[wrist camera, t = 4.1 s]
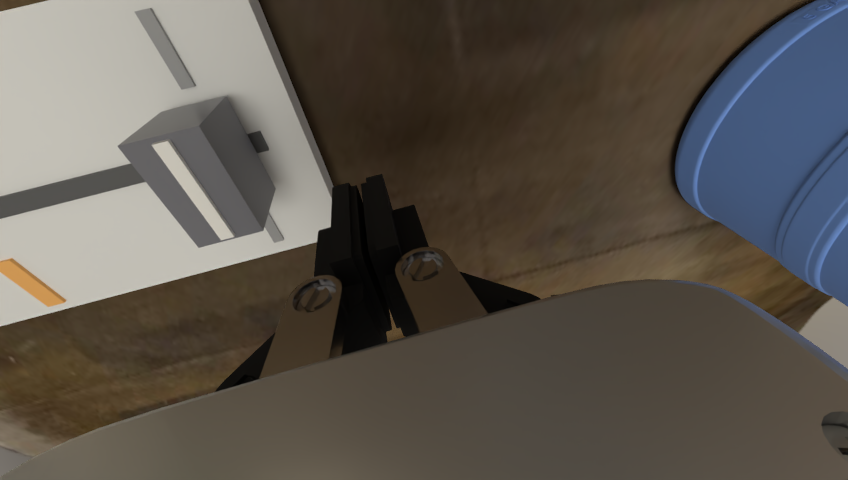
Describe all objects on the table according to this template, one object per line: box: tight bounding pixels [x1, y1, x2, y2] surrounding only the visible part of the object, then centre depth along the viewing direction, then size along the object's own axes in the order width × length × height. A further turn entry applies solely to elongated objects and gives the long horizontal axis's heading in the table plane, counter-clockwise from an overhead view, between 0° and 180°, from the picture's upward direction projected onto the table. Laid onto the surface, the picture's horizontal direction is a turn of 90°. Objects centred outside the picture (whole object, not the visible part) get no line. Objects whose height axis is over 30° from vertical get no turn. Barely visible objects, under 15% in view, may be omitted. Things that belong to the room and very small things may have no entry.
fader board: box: [0, 0, 334, 326], centre depth 18 cm, size 28×14×2 cm, turn 101°
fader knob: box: [117, 96, 276, 248], centre depth 16 cm, size 3×5×4 cm, turn 11°
